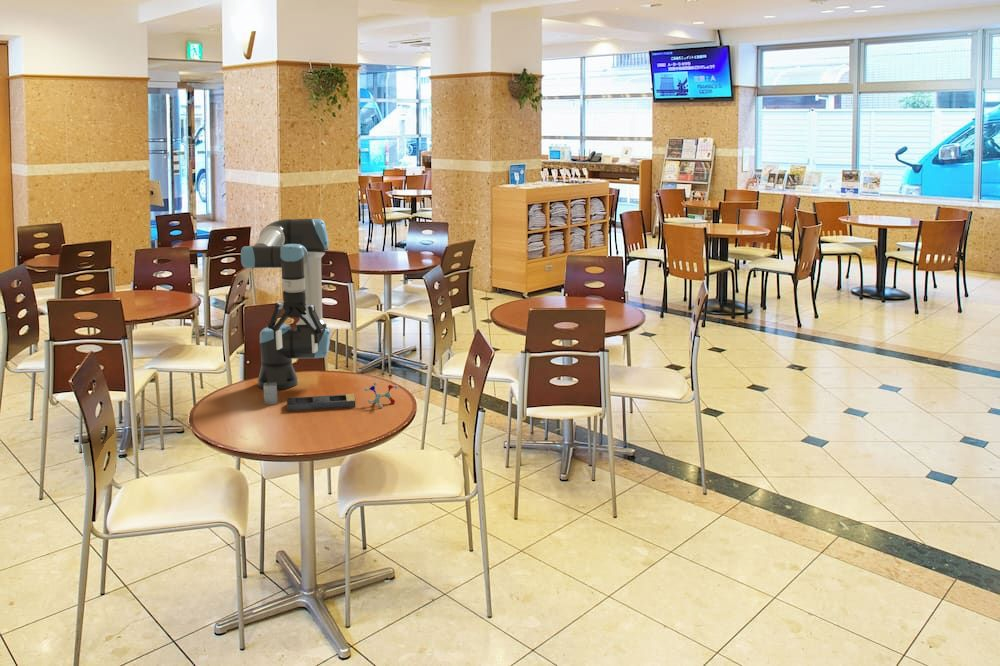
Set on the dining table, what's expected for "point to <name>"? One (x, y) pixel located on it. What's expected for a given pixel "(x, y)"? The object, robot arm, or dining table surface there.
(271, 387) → the light grey rectangular block
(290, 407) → the grey slotted frame
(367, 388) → the molecular model
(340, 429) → the dining table surface
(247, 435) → the dining table surface
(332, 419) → the dining table surface
